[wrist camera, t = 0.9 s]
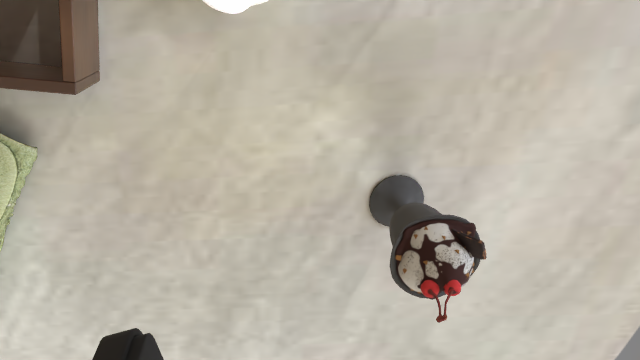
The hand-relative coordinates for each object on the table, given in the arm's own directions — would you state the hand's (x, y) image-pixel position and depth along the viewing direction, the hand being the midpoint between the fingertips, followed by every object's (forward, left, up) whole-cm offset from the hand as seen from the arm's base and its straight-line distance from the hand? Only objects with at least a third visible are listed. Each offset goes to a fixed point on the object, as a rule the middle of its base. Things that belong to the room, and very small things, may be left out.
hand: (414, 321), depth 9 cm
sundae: (+10, +11, -32) cm, 35 cm away
